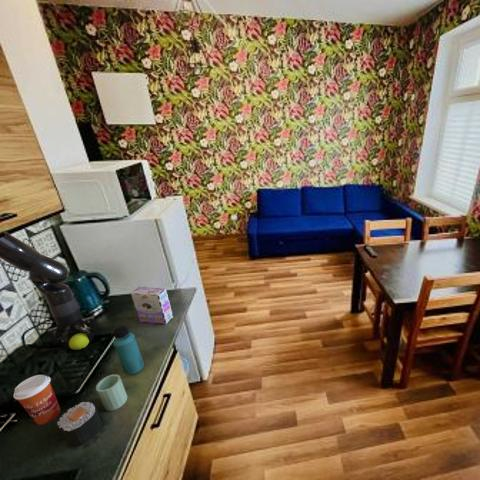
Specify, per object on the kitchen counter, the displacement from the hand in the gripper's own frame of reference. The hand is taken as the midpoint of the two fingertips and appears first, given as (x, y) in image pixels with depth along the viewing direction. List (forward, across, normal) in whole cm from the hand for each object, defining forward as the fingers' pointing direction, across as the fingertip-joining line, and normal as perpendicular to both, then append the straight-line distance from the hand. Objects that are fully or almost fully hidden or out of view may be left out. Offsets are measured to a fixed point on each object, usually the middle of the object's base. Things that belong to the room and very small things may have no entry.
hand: (80, 343), depth 109 cm
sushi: (+2, -3, +43) cm, 43 cm away
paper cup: (+2, +6, +30) cm, 31 cm away
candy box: (+2, -27, -2) cm, 27 cm away
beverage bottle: (+2, -17, +26) cm, 31 cm away
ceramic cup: (+2, -11, +37) cm, 39 cm away
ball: (-1, 0, 0) cm, 1 cm away
